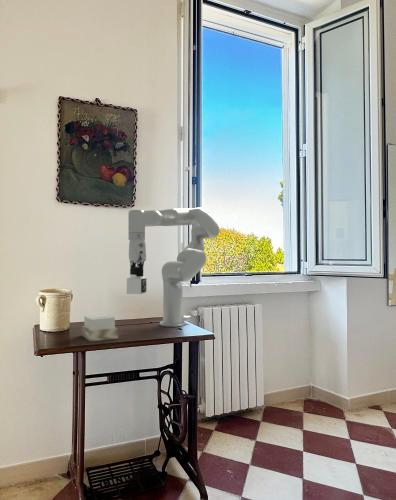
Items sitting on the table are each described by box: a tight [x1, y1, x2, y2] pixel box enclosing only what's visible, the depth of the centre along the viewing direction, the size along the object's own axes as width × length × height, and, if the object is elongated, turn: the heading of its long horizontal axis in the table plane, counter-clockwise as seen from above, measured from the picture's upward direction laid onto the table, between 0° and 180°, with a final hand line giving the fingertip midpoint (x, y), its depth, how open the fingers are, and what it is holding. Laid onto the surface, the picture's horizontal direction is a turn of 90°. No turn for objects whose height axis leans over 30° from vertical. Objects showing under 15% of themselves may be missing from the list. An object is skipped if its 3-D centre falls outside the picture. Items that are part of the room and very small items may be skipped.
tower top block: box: [83, 313, 116, 331], centre depth 164 cm, size 10×10×4 cm
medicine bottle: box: [126, 266, 147, 295], centre depth 177 cm, size 7×7×12 cm
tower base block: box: [81, 325, 119, 342], centre depth 164 cm, size 12×12×4 cm
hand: (136, 275), depth 177 cm, fingers closed on medicine bottle, 6 cm apart
